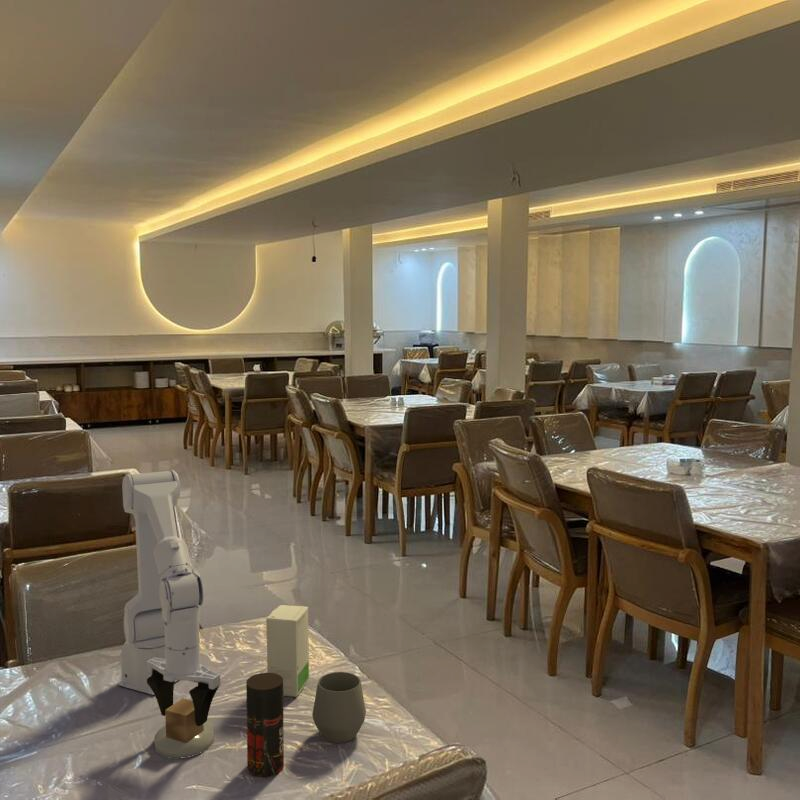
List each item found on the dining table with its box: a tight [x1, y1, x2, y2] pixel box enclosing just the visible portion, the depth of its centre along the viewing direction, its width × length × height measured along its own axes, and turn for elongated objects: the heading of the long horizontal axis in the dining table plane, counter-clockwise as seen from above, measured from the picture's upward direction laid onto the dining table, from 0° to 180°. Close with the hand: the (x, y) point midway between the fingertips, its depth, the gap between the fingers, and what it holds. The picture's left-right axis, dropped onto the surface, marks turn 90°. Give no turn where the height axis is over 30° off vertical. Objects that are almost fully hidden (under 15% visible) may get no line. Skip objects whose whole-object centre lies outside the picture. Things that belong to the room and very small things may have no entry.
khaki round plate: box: [153, 721, 215, 759], centre depth 137 cm, size 10×10×2 cm
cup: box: [311, 671, 367, 744], centre depth 139 cm, size 10×9×10 cm
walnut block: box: [164, 698, 204, 743], centre depth 137 cm, size 4×4×5 cm
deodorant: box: [245, 672, 285, 779], centre depth 129 cm, size 6×6×15 cm
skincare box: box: [265, 604, 310, 698], centre depth 157 cm, size 8×7×16 cm
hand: (184, 718), depth 137 cm, fingers open, 7 cm apart
